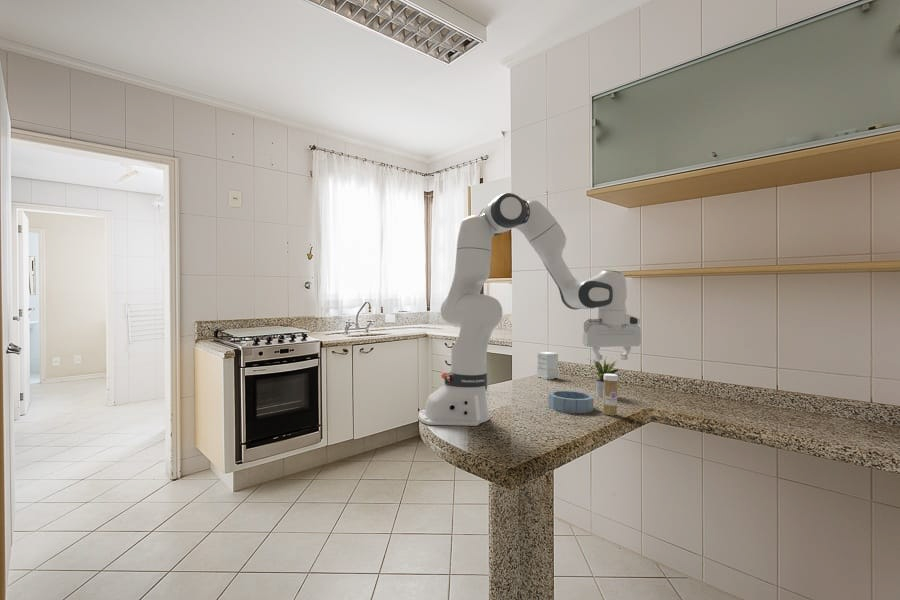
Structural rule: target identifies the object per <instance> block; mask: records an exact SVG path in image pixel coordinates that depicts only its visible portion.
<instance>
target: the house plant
mask: <svg viewBox="0 0 900 600" xmlns="http://www.w3.org/2000/svg"><path fill="white" fill-rule="evenodd" d="M607 357H608V356H607V355H606V356H605V358H604V361H603V366H602V363H600V362H601V361H600V360H596V359H594V360H593V365H594V366H595V367H596V369H597V372H596V371H595V370H590V371H589V373H591V374H593V375H597V376H598V379H595V380H594V382H595V387H596V389H595V390H596V396H597V397H599V398H603V389H604V379H603V377H604V374H616V375H618V379H619V378H620V375H619V374H617V372H619V369H616V368H615V369H613V368H614V367H615V366H616V363H617V362H618V361H619V360H615V361H613V362H612V363H609V362H607V363H606V359H607ZM587 360H589V361H591V362H592V360H590V359H588V358H587ZM612 360H613V358H611V359H610V361H612ZM612 369H613V370H612Z"/></svg>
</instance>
